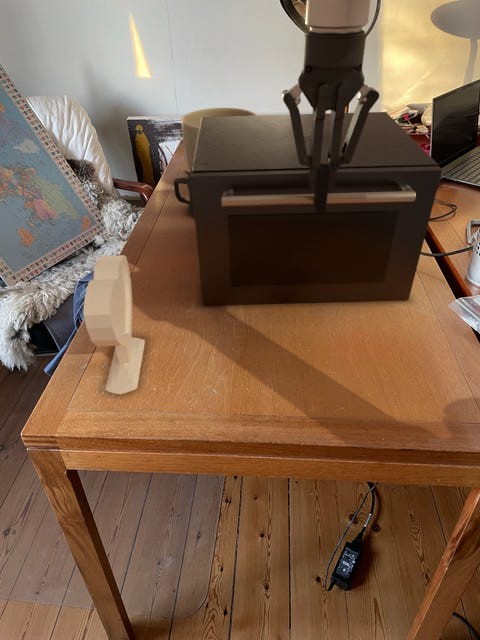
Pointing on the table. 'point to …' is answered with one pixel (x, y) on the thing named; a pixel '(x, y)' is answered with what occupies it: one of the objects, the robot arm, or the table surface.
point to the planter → (193, 126)
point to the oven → (280, 150)
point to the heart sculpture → (114, 321)
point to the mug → (189, 185)
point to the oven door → (311, 235)
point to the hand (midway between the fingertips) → (319, 208)
